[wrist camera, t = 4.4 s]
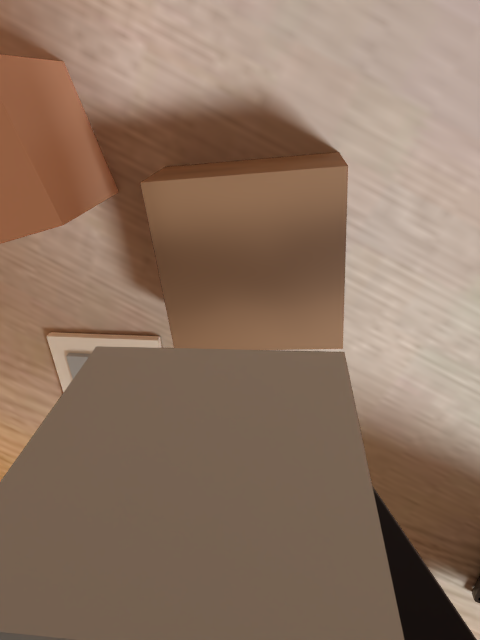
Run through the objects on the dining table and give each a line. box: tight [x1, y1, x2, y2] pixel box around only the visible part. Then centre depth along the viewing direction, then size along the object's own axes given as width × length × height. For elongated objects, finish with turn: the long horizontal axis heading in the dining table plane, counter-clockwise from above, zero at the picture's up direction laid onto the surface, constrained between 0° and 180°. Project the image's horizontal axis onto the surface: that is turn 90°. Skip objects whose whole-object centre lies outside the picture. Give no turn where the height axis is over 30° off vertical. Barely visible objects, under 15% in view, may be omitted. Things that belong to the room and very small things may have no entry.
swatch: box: [46, 332, 162, 393], centre depth 23 cm, size 6×6×1 cm
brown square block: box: [140, 152, 348, 350], centre depth 17 cm, size 7×7×4 cm
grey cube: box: [0, 346, 404, 640], centre depth 7 cm, size 5×5×5 cm
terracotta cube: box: [0, 54, 118, 244], centre depth 15 cm, size 5×5×5 cm
